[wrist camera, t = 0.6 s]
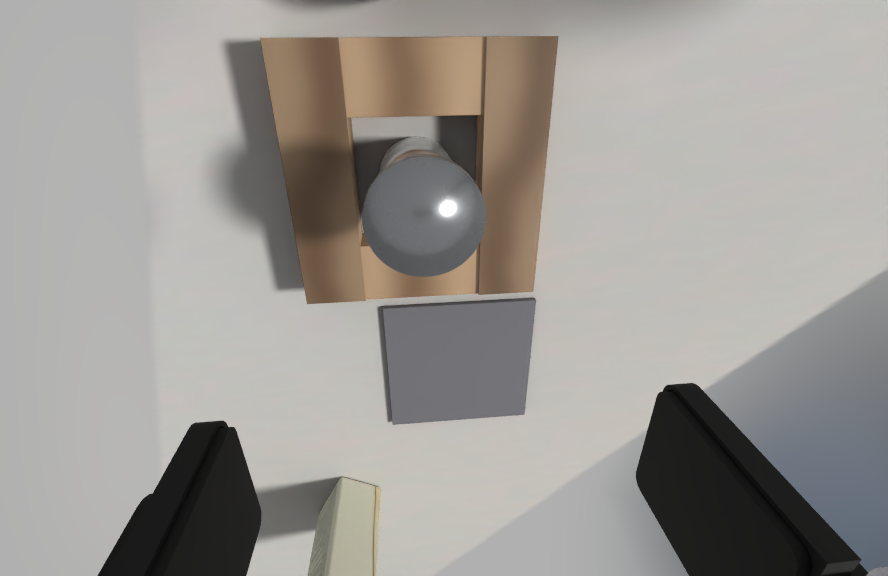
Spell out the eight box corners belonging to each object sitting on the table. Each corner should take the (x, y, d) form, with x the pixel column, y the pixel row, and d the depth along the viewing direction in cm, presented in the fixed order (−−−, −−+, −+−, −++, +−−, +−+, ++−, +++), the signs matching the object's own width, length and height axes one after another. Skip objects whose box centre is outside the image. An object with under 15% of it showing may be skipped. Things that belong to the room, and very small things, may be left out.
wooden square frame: (544, 38, 26) (558, 36, 24) (524, 275, 34) (533, 291, 32) (272, 39, 25) (260, 38, 23) (313, 286, 33) (307, 303, 30)
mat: (534, 297, 35) (535, 300, 35) (523, 411, 40) (524, 414, 40) (382, 306, 34) (382, 308, 34) (392, 421, 40) (392, 424, 39)
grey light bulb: (461, 127, 28) (488, 156, 20) (460, 216, 31) (484, 273, 23) (367, 129, 28) (356, 159, 20) (375, 219, 31) (367, 279, 22)
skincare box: (357, 523, 46) (345, 666, 35) (316, 513, 44) (290, 658, 34) (382, 484, 43) (377, 625, 33) (339, 473, 42) (320, 615, 31)
